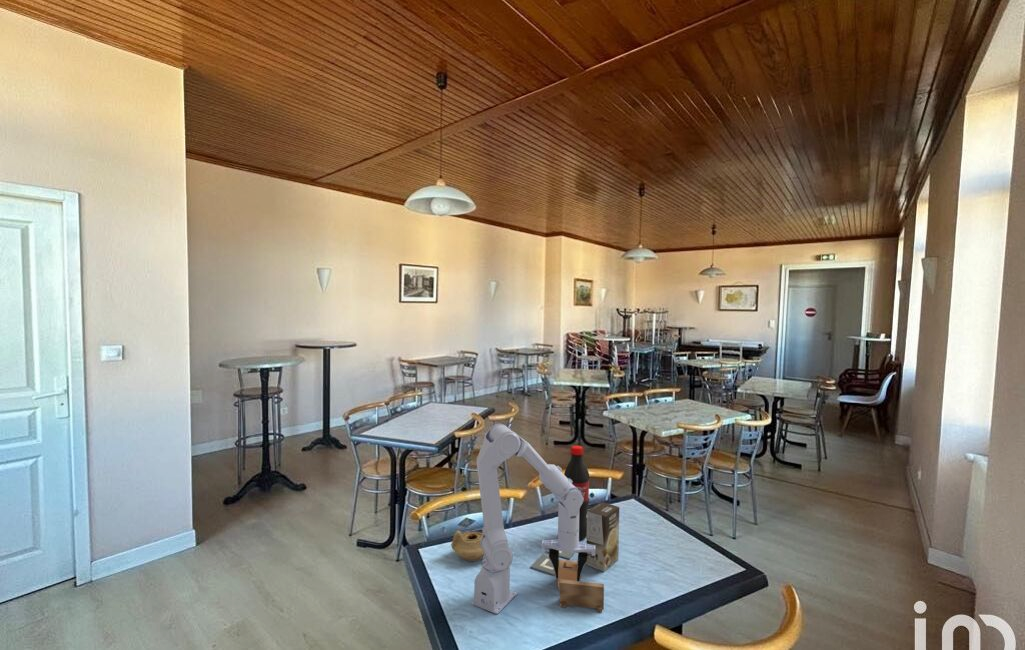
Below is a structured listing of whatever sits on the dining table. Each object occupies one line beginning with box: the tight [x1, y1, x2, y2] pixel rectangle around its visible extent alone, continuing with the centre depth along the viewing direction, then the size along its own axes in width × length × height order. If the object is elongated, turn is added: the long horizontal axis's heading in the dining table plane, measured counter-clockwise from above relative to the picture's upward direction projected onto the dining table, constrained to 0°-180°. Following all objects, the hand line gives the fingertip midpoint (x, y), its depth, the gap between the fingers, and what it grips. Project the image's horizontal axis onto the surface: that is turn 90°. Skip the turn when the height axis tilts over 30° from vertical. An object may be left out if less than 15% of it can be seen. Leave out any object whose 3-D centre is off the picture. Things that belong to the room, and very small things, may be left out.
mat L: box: [529, 554, 561, 577], centre depth 129 cm, size 8×8×1 cm
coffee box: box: [585, 501, 620, 572], centre depth 131 cm, size 9×6×16 cm
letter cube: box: [557, 559, 578, 589], centre depth 120 cm, size 5×5×5 cm
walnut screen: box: [559, 579, 605, 613], centre depth 111 cm, size 11×4×6 cm, turn 80°
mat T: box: [544, 550, 576, 561], centre depth 138 cm, size 8×8×1 cm
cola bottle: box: [563, 445, 590, 541], centre depth 147 cm, size 8×8×30 cm
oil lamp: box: [450, 530, 484, 562], centre depth 134 cm, size 11×15×8 cm
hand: (568, 577), depth 120 cm, fingers closed on letter cube, 5 cm apart
